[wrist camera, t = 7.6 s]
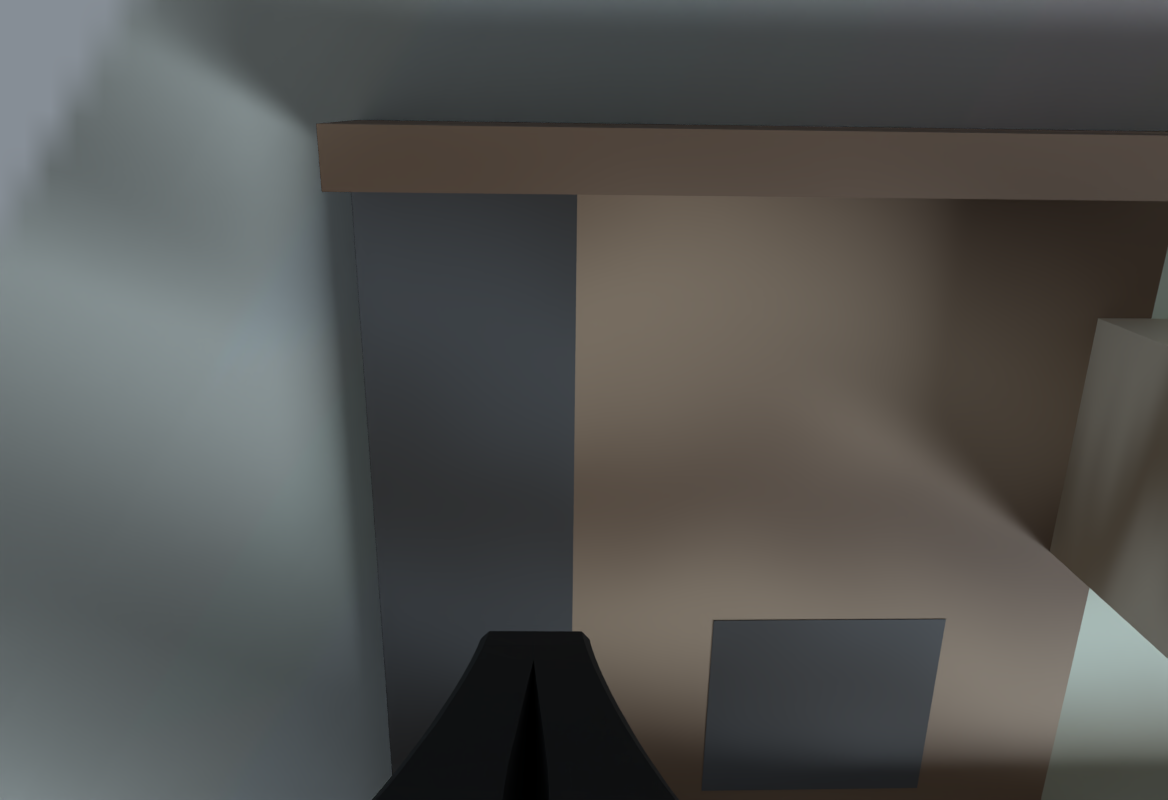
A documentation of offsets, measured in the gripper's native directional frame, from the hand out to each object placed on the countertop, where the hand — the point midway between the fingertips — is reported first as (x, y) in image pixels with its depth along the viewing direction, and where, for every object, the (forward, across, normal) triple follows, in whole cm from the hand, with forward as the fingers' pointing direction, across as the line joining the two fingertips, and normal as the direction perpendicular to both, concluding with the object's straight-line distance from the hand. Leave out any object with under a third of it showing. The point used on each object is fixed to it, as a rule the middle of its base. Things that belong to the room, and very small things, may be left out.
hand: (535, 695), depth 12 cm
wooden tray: (+7, -9, +1) cm, 11 cm away
